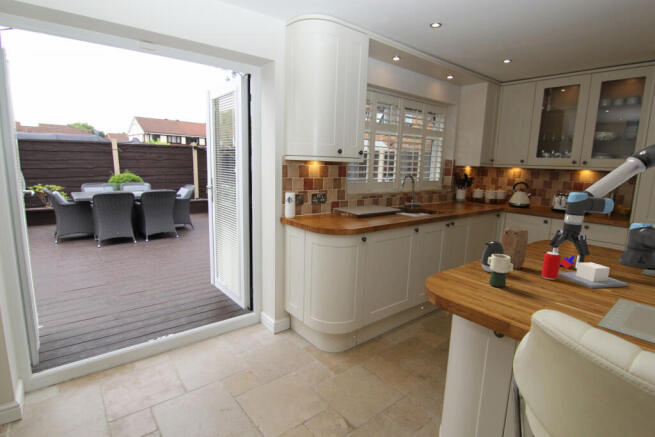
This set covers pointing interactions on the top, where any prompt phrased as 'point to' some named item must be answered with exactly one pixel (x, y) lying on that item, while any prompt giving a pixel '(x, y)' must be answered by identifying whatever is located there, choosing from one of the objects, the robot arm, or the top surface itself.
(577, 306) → the top surface
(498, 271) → the character mug
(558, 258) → the beverage can
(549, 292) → the top surface
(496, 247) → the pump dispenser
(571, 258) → the toy building block
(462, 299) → the top surface
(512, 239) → the block
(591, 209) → the robot arm
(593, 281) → the build base
